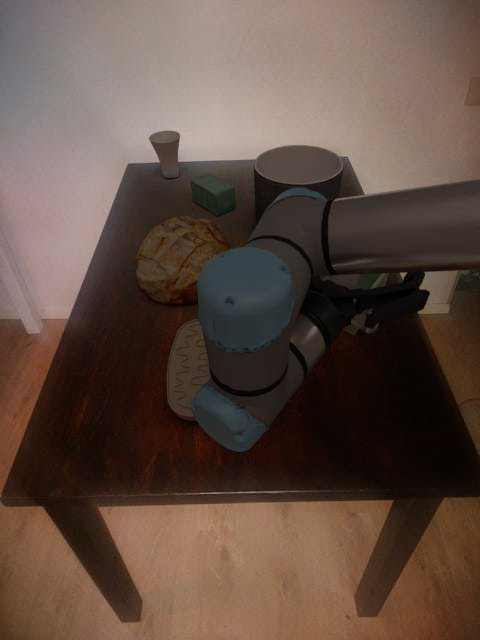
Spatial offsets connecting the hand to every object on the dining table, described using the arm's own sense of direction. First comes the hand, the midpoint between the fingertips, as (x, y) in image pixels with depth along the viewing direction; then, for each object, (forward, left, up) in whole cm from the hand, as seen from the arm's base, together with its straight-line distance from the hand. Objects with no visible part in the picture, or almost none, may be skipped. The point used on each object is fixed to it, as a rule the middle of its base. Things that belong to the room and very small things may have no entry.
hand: (375, 244), depth 56 cm
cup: (+89, -41, -29) cm, 102 cm away
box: (+62, -33, -29) cm, 76 cm away
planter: (+33, -34, -29) cm, 56 cm away
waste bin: (+9, -15, -29) cm, 34 cm away
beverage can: (+9, -15, -28) cm, 33 cm away
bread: (+46, -3, -29) cm, 55 cm away
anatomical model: (+22, +20, -29) cm, 42 cm away
